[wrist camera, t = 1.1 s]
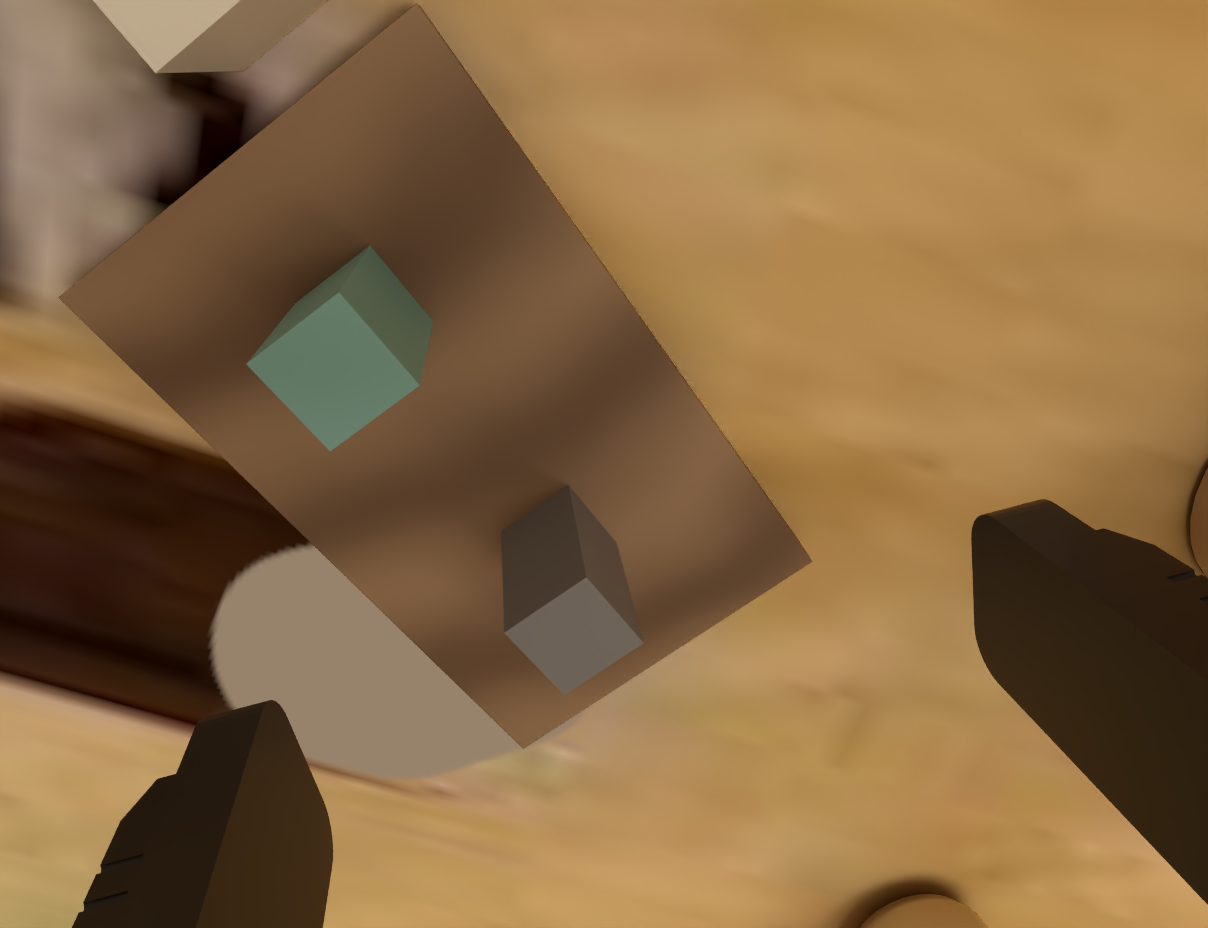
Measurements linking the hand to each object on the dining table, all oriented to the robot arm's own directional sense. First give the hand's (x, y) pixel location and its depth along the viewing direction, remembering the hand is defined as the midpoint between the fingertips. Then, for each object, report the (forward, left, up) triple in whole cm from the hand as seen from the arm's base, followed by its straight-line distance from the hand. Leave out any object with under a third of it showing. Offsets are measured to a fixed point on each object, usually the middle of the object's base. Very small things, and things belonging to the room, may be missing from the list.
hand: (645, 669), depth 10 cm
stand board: (+4, +2, -18) cm, 18 cm away
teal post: (+4, -3, -16) cm, 17 cm away
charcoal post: (+4, +6, -16) cm, 18 cm away
